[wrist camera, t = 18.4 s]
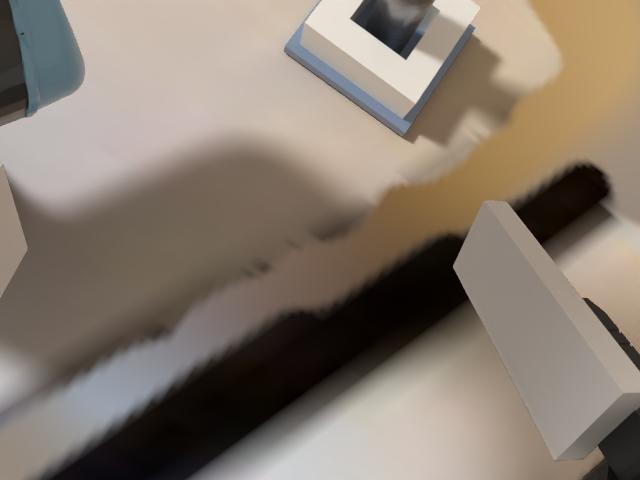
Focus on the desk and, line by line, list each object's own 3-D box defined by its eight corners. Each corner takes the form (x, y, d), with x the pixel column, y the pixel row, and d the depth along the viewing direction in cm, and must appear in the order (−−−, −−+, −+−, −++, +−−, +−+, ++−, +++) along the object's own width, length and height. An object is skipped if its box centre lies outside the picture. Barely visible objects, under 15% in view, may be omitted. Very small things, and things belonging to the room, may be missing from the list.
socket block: (283, 51, 43) (288, 23, 39) (361, -49, 46) (373, -86, 42) (401, 136, 44) (419, 119, 40) (470, 33, 47) (494, 6, 43)
